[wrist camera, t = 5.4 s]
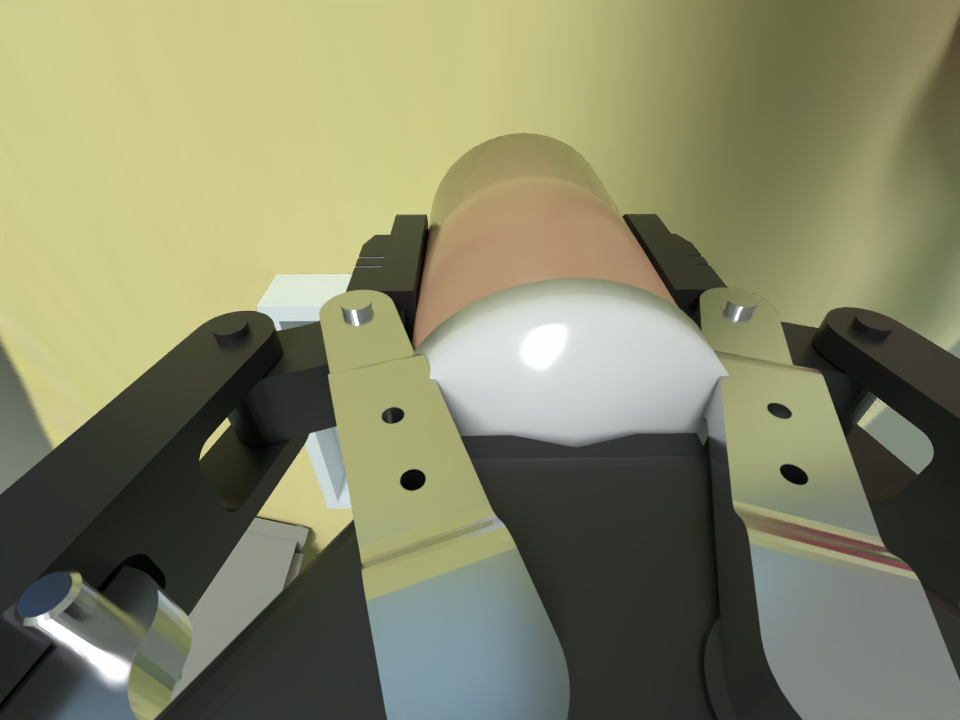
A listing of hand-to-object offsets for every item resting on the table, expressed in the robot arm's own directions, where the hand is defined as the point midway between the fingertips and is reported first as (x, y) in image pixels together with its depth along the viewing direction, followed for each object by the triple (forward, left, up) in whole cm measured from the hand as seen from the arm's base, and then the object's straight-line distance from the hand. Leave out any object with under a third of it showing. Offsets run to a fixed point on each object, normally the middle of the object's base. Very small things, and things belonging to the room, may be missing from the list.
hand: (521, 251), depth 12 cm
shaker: (0, 0, -1) cm, 1 cm away
